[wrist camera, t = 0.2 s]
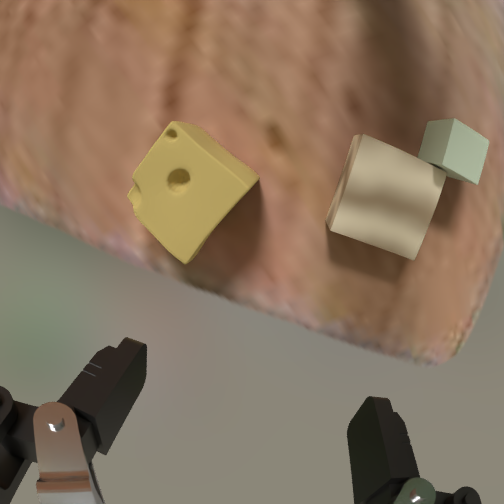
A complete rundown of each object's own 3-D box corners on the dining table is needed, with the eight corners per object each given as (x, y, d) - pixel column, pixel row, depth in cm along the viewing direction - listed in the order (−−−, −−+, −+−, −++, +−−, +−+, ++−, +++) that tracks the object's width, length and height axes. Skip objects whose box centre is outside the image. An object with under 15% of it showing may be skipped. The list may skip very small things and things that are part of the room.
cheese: (150, 186, 37) (110, 200, 28) (202, 121, 34) (172, 113, 24) (209, 239, 39) (184, 269, 29) (266, 177, 35) (258, 187, 26)
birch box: (353, 135, 33) (363, 133, 28) (429, 169, 33) (447, 173, 28) (324, 220, 36) (330, 230, 32) (400, 247, 36) (414, 260, 32)
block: (427, 121, 30) (454, 118, 24) (459, 139, 30) (489, 140, 24) (416, 160, 32) (441, 164, 26) (449, 177, 32) (477, 184, 26)
